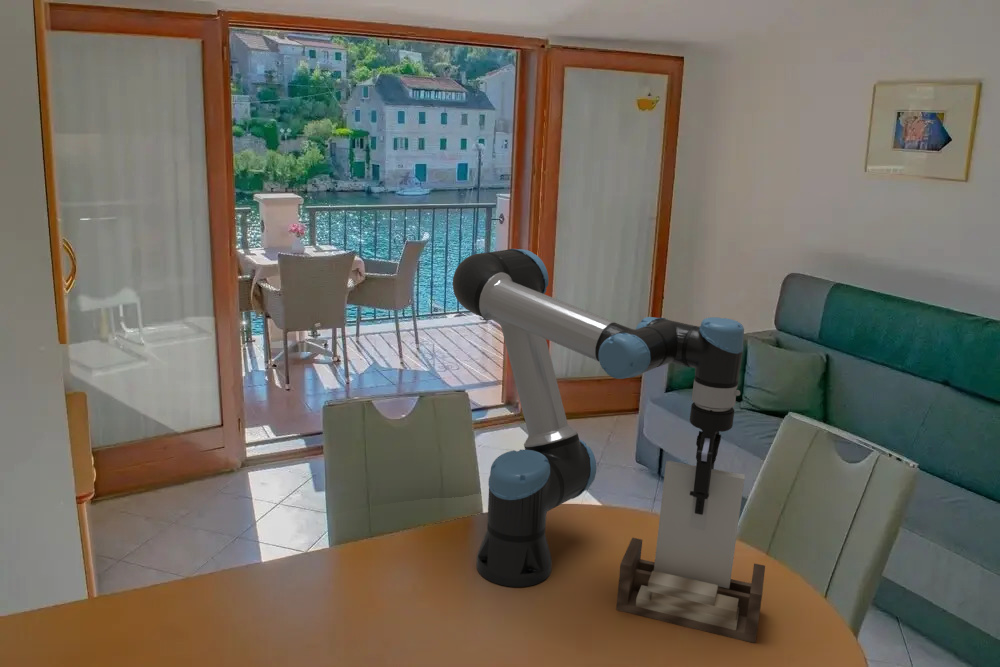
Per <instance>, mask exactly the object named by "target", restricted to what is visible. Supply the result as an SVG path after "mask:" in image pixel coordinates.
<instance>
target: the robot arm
mask: <svg viewBox="0 0 1000 667" xmlns="http://www.w3.org/2000/svg"><path fill="white" fill-rule="evenodd" d="M549 278H550V277H549V273H548V269H547V267H546V265H545V263H544V261H543V260H542V259H541V257H539V255H537V254H535V253H534V252H532V251H530V250H527V249H522V248H521V249H520V248H519V249H517V248H509V249H503V250H498V251H497V250H496V251H491V252H490V251H489V252H480V253H474V254H472V255H469V256H467V257H465V259H463V260H462V261H461V262H460V263H459V265H458V266H457V268H456V269H455V271H454V274H453V278H452V291H453V294H454V296H455V298H456V300H457V301H458V303H459V304H460V305H461V306H462V307H463V308H465V310H467V311H469V312H471V313H472V314H474V315H477V316H478V317H481V318H484V319H486V320H487V321H489V320H490V321H494V322H495V323H497V324H499V326H500V328H501V332H502V335H503V340H504V343H505V347H506V352H507V355H508V359H509V363H510V367H511V371H512V374H513V375H512V376H513V379H514V382H515V383H514V384H515V387H516V390H517V394H518V399H519V402H520V406H521V407H520V408H521V409H522V410H521V411H522V414H523V418H524V421H525V426H526V430H527V433H528V435H527V438H526V440H525V442H524V444H523V447H524V449H519V450H518V451H517V450H510V451H507V452H504V453H502V454H501V455H498V456H497V457H496V458H495V459H494V461H493V462H492V464H491V465H490V466H491V467H490V473H489V477H488V500H487V505H488V506H487V525H486V526H487V527H486V531H485V532H486V533H485V535H484V536H483V540H482V542H481V544H480V547H479V549H478V551H477V555H476V569H477V571H478V573H479V574H480V575H481V576H482V578H484V579H486V580H488V581H490V582H492V583H494V584H496V585H497V584H498V585H499V586H504V587H505V586H506V587H514V588H523V587H531V586H534V585H537V584H540V583H543V582H544V581H546V580H547V579H548V578H549V577H550V575H551V573H552V564H553V563H552V562H553V561H552V556H551V554H552V553H551V551H550V548H549V544H548V540H547V537H546V522H547V513H548V512H549V511H551V510H553V509H554V508H557V507H558V506H560V505H563V504H564V503H567V502H568V501H570V500H573V499H575V498H577V497H579V496H581V495H582V494H583V493H584V492H586V491H587V490H588V489H590V487H591V486H592V484H593V483H594V481H595V478H596V474H597V460H596V456H595V453H594V452H593V449H592V448H591V447H590V446H588V445H587V443H586V442H585V441H583V440H582V439H580V438H579V434H578V430H577V429H574V428H573V427H572V426H570V425H569V424H568V419H567V416H566V411H565V408H564V404H563V400H562V396H561V393H560V387H559V384H558V380H557V377H556V372H555V368H554V366H553V362H552V356H551V353H550V349H549V346H548V342H547V340H548V341H551V342H553V344H554V343H555V344H557V345H559V346H562V347H564V348H566V349H569V350H571V351H573V352H575V353H578V354H581V355H582V356H584V357H588V358H589V359H591V360H594V361H597V362H598V363H599V365H600V366H601V369H603V371H604V372H605V374H606V375H607V376H610V377H611V378H613V379H618V380H621V379H622V380H624V379H627V378H635V377H637V376H640V375H641V374H643V373H646V372H649V371H651V370H653V369H656V368H660V367H662V366H664V365H668V364H675V365H679V366H683V367H686V368H687V367H688V368H693V369H694V378H693V385H692V386H693V388H692V393H691V394H692V395H691V400H692V403H691V406H690V414H689V423H690V424H691V426H693V427H695V428H696V429H699V430H700V431H698V435H697V436H696V437H697V438H696V444H695V445H696V446H697V447H696V455H695V459H696V465H695V466H696V474H695V483H694V491H690V495H691V496H693V503H692V512H691V520H690V527H691V528H696V529H701V530H705V524H706V517H707V509H708V501H709V494H708V493H709V485H710V478H711V470H712V469H715V463H716V460H717V456H718V452H719V447H720V444H721V440H722V434H720V433H724V432H728V431H729V430H731V429H732V428H733V425H734V417H735V409H734V407H735V405H736V401H737V399H736V398H737V397H738V396H739V397H740V395H741V391H740V390H739V389H738V384H739V377H740V376H739V375H740V370H741V365H742V364H741V363H742V357H743V352H744V339H745V338H744V337H745V328H744V326H743V324H742V323H741V322H739V321H737V320H734V319H730V318H726V317H723V318H722V317H717V316H716V317H715V316H714V317H713V316H712V317H706V318H705V317H704V319H702V321H701V322H700V325H693V324H688V323H684V322H679V321H674V320H672V319H671V320H670V319H668V318H665V317H654V316H653V317H652V316H646V317H644V318H642V319H641V321H640V322H639V323H638V324H637V326H636V327H635V328H630V327H627V326H625V325H623V324H620V323H617V322H615V321H613V320H610V319H608V318H605V317H603V316H600V315H597V314H595V313H592V312H590V311H587V310H584V309H583V308H580V307H577V306H575V305H572V304H570V303H567V302H564V301H563V300H560V299H557V298H556V297H552V296H550V295H547V294H546V293H547V290H548V289H547V287H549Z"/></svg>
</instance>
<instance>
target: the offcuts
mask: <svg viewBox="0 0 1000 667" xmlns="http://www.w3.org/2000/svg"><path fill="white" fill-rule="evenodd" d="M717 588H718V585H715V584H711V583H706V582H702V581H697V580H693V579H688V578H684V577H679V576H675V575H670V574H666V573H661V572H657V571H652V573H651V576H650V579H649V581H648V586H644V585H641V587H640V590H639V593H638V595H637V598H636V607H640V608H644V609H649V610H653V611H657V612H661V613H665V614H669V615H674V616H678V617H682V618H686V619H690V620H695V621H699V622H703V623H707V624H711V625H715V626H720V627H724V628H728V629H732V630H736V627H737V620H738V614H739V607H738V601H739V599H738V598H734V597H730V596H725V595H721V594H717Z"/></svg>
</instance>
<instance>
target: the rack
mask: <svg viewBox="0 0 1000 667" xmlns="http://www.w3.org/2000/svg"><path fill="white" fill-rule="evenodd" d="M642 548H643V539H642V538H635V537H631V540H630V541H629V544H628V546H627V548H626V549H625V550H626V551H625V553H624V555H623V557H622V559H621V562H620V566H619V576H618V577H619V578H618V585H617V596H616V609H615V610H616V611H621V612H624V613H628V614H633V615H637V616H641V617H644V618H649V619H653V620H656V621H657V620H658V621H660V622H661V621H662V622H666V623H669V624H674V625H678V626H682V627H686V628H690V629H695V630H699V631H703V632H707V633H710V634H715V635H719V636H723V637H727V638H730V639H731V638H732V639H736V640H740V641H743V642H748V643H752V644H756V642H757V641H756V640H757V633H758V628H759V627H758V626H759V619H760V612H761V607H762V606H761V605H762V601H763V600H762V598H763V593H764V592H763V590H764V580H765V572H766V565H763V564H759V563H753V568H752V576H751V582H745V581H741V580H737V579H731V580H730V586H729V589H728V588H723V587H719V586H718V588H717V594H721V595H725V596H730V597H734V598H738V599H739V601H738V607H739V614H738V620H737V627H736V630H732V629H728V628H724V627H720V626H715V625H711V624H707V623H703V622H699V621H695V620H690V619H686V618H682V617H678V616H674V615H669V614H665V613H661V612H657V611H653V610H649V609H644V608H640V607H636V598H637V595H638V593H639V590H640V587H641V585H644V586H648V581H649V579H650V576H651V573H652V571H654V564H655V561H650V560H646V559H643V558H641V556H642Z"/></svg>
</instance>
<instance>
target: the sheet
mask: <svg viewBox="0 0 1000 667" xmlns="http://www.w3.org/2000/svg"><path fill="white" fill-rule="evenodd" d="M695 474H696V465H694V464H687V463H683V462H676V461H672V460H666V463H665V467H664V476H663V483H662V484H663V485H662V495H661V501H660V502H661V503H660V510H659V511H660V512H659V520H658V530H657V539H656V548H655V554H654V555H655V558H654V562H655V564H654V571H657V572H661V573H666V574H670V575H675V576H679V577H684V578H688V579H693V580H697V581H702V582H706V583H711V584H715V585H718V586H719V587H723V588H728V589H729V586H730V580H731V578H732V572H733V566H734V559H735V557H734V556H735V551H736V550H735V549H736V542H737V536H738V528H739V521H740V514H741V507H742V499H743V492H744V485H745V477H746V474H743V473H736V472H733V471H732V472H730V471H728V470H727V471H726V470H721V469H716V468H714V469H712V470H711V478H710V485H709V493H708V494H709V501H708V509H707V517H706V524H705V530H701V529H696V528H691V527H690V520H691V512H692V503H693V496H691V495H690V491H694V483H695Z"/></svg>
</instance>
